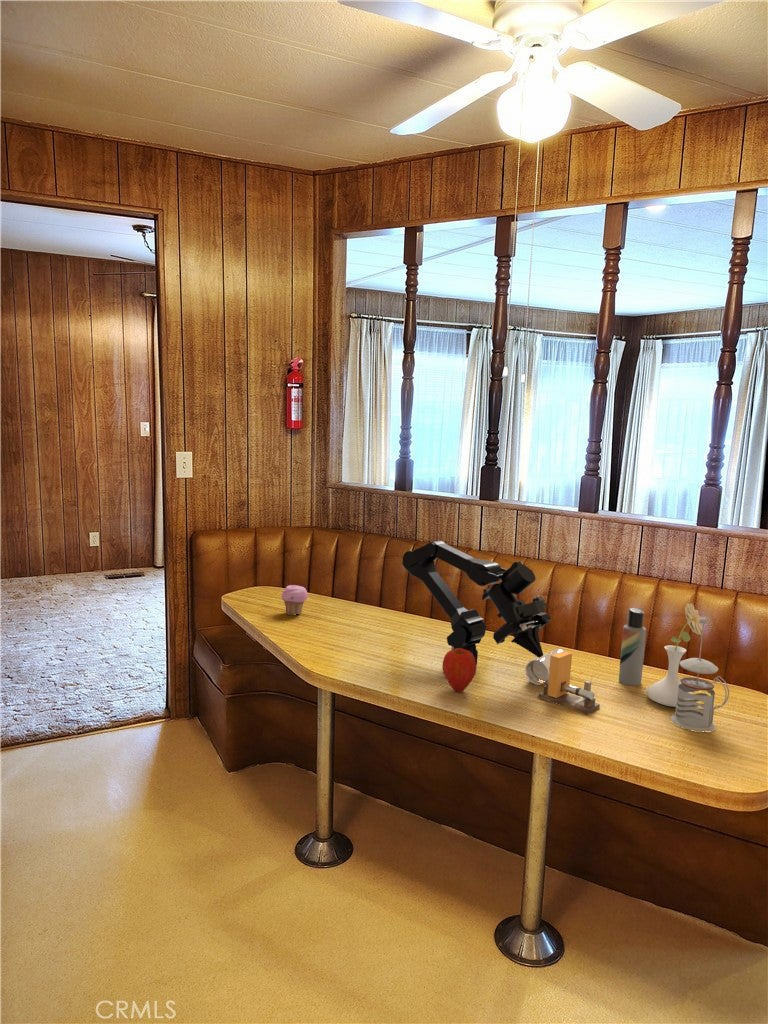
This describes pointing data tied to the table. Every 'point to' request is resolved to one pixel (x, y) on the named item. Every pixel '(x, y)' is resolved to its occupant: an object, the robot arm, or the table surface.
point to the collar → (559, 673)
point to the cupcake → (294, 599)
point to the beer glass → (539, 668)
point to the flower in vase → (675, 663)
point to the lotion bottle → (632, 649)
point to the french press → (697, 695)
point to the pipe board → (573, 700)
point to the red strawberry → (459, 668)
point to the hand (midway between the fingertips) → (541, 656)
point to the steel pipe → (575, 690)
